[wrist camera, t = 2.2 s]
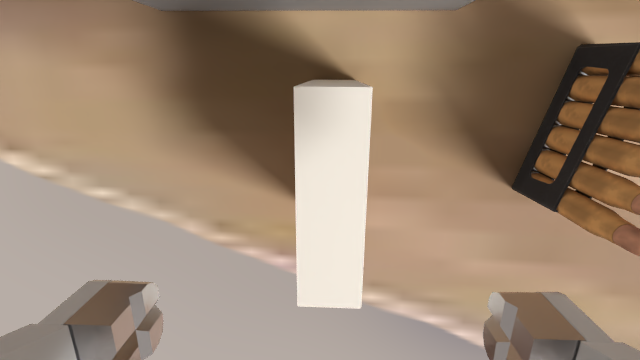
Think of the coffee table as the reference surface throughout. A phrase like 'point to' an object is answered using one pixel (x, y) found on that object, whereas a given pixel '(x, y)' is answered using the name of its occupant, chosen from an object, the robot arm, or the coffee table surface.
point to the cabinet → (303, 5)
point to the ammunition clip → (591, 144)
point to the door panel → (331, 190)
